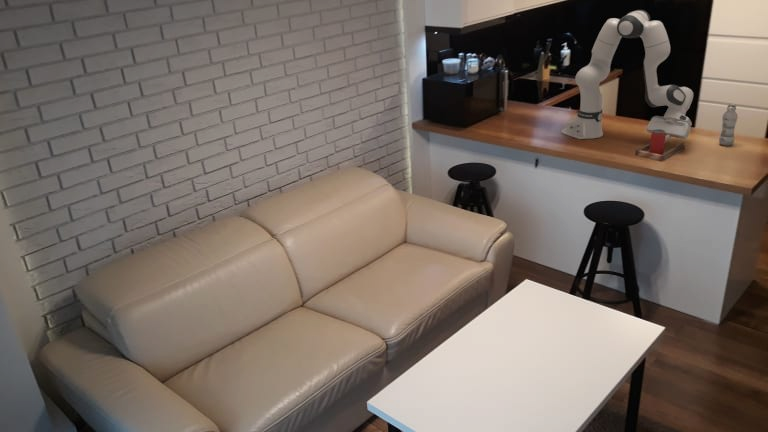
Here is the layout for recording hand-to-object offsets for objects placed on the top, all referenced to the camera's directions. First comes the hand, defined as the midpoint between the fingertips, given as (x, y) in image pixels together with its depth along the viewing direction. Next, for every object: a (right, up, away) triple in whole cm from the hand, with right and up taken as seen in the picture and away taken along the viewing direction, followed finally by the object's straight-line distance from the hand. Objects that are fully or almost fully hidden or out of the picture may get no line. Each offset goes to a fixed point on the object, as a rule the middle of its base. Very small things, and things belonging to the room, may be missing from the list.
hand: (661, 142), depth 303 cm
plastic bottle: (+33, -1, +2) cm, 33 cm away
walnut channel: (0, -5, +2) cm, 5 cm away
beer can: (-2, -6, 0) cm, 6 cm away
